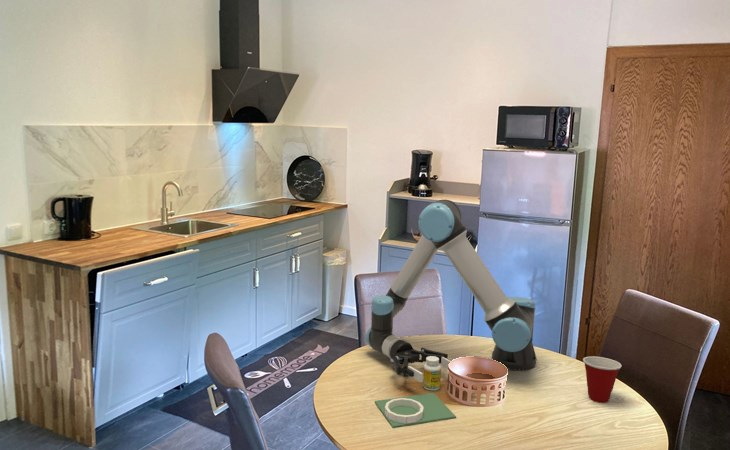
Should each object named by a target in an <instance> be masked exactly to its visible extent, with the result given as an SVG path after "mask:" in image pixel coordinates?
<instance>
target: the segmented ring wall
mask: <svg viewBox="0 0 730 450" xmlns="http://www.w3.org/2000/svg"><path fill="white" fill-rule="evenodd" d="M397 398H398V399H392V398H391V399H392V400H391V401H389V402H387V403H386V406H385V415H386V416H387V418H388V419H390V420H392V421H394V422H397V423H405V424H406V423H407V424H408V423H414V422H417V421H419V420H421V419H422V417H423V409H424V407H423V406H422V405H421V403H420V402H418V401H415V400H413V399H406V398H399V397H397ZM397 406H409V407H412V408H415V409H417V410H418V411H419V412H417V413H416V414H412V415H399V414H396V413H393V412H391V411H390V409H391V408H393V407H397Z"/></svg>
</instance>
